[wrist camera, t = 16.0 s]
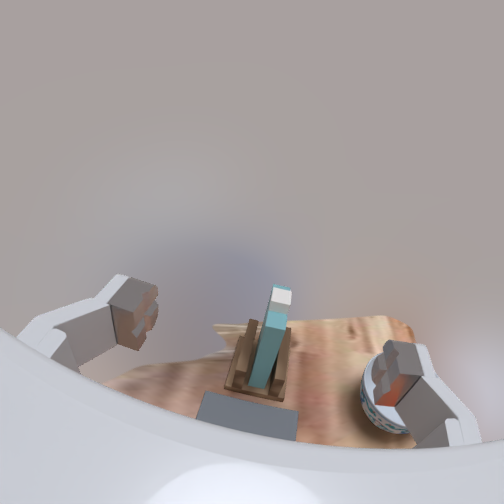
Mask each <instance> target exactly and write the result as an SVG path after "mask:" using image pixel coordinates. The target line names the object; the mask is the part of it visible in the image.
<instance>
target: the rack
mask: <svg viewBox="0 0 504 504" xmlns="http://www.w3.org/2000/svg"><path fill="white" fill-rule="evenodd" d="M257 326H258V321H257V320H253V319H249V323H248V327H247V330H246V334H245V337H242V336H240V337H239V340H238V343H237V347H236V350H235V354H234V357H233V360H232V364H231V367H230V370H229V374H228V377H227V381H226V384H225V388H224V389H227V390H231V391H235V392H239V393H243V394H248V395H252V396H256V397H261V398H266V399H270V400H275V401H280V402H283V400H284V397H285V389H286V381H287V372H288V364H289V355H290V347H289V345H290V336H291V328H288V327H286V331H285V333H284V336H283V339H282V342H281V345H280V348H279V350H278V353H277V356H276V359H275V362H274V364H273V367H272V370H271V372H270V375H269V378H268V380H267V383H266V386H265V388H264V389H261V388H257V387H252V386H248V383H249V379H250V374H251V370H252V365H253V361H254V356H255V352H256V347H257V343H258V340H255V339H254V338H255V334H256V330H257Z"/></svg>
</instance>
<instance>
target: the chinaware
mask: <svg viewBox="0 0 504 504" xmlns="http://www.w3.org/2000/svg"><path fill="white" fill-rule="evenodd" d="M382 353H383V352H382ZM380 354H381V353H380ZM380 354H377V355H376V356H374V357H373V358H372V359H371V360H370V361H369V362H368V364H367V366H366V368H365V370H364V373H363V376H362V380H361V387H360V398H361V403H362V407H363V409H364V412H365V413H366V415H367V417H368V418H369V419H370V421H371V422H372V423H373V424H374V425H376V426H377V427H379V428H380V429H382V430H384V431H387V432H390V433H395V434H407V433H410V432H409V431H408V429H407V427H406V426H405V424H404V423H403V421H402V420H401V418H400V416H399V415H398V413H397V412H396V410H395V407H388V406H379V405H375V404H374V395H373V389H374V388H375V387H376V385H375V384H374V382H373V381H372V378H371V370H372V366H373V362H374V361H375V359H376V357H377V356H378V355H380ZM434 372H435V371H434ZM435 375H436V378H439V377H438V375H437V374H436V373H435Z"/></svg>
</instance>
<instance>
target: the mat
mask: <svg viewBox="0 0 504 504" xmlns="http://www.w3.org/2000/svg"><path fill="white" fill-rule="evenodd" d="M196 419H197V420H200V421H204V422H207V423H211V424H214V425H218V426H222V427H226V428H230V429H234V430H238V431H243V432H247V433H252V434H257V435H262V436H267V437H272V438H278V439H283V440H290V441H296V431H297V421H298V411H293V410H287V409H282V408H277V407H272V406H267V405H262V404H257V403H253V402H248V401H244V400H240V399H236V398H232V397H228V396H224V395H220V394H216V393H213V392H209V391H206V392H205V395H204V397H203V400H202V403H201V406H200V409H199V412H198V415H197V417H196Z"/></svg>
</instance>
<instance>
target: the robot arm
mask: <svg viewBox="0 0 504 504" xmlns="http://www.w3.org/2000/svg"><path fill="white" fill-rule="evenodd" d="M157 296H158V288H157V286H156V285H153V284H150V283H147V282H144V281H141V280H138V279H135V278H132V277H128V276H125V275H122V274H117V275H115V276H114V277H113V278H112V279H111V281H110V282H109V283H108V284H107V285H106V286H105V287H104V288H103V289H102V290H101V291H100V292H99V293H98V294H97V296H96V297H95V298H94V299H93V298H88V299H85V300H82V301H79V302H76V303H73V304H71V305H67V306H64V307H62V308H59V309H56V310H53V311H50V312H47V313H44V314H42V315H39V316H36V317H35V318H34V319H33V320H32V321H31V322H30V323H29V324H28V325H27V326H26V327H25V328H24V329H23V331H22V332H21V333H20V334H19V335H18V336H17V337H14V336H13V335H11V334H9V333H8V332H6V331H5V330H3V329H2V328H0V504H504V439H501V440H495V441H490V442H483V443H482V439H481V436H480V432H479V428H478V424H477V420H476V417H475V416H474V415H473V414H472V413H471V412H470V410H469V409H468V408H467V407H466V406H465V405H464V404H463V403H462V402H461V400H459V398H458V397H457V396H456V395H455V394H454V393H453V392H452V391H451V390H450V389H449V388H448V386H447V385H446V384H445V383H444V382H443V381H442V380H441V379H440V378H436V375H435V372H434V369H433V365H432V362H431V359H430V356H429V353H428V350H427V347H426V346H425V345H424V344H416V343H407V342H401V341H394V340H388V341H387V342H386V343H385V345H384V346H383V351H384V352H383V353H381V354H380V355H378V356H377V357H376V359H375V361H374V362H373V366H372V370H371V378H372V381H373V382H374V384H375V385H376V387H375V388H374V389H373V395H374V404H375V405H379V406H388V407H395V410H396V412H397V413H398V415H399V416H400V418H401V420H402V421H403V423H404V424H405V426H406V427H407V429H408V431H409V432H410V434H411V436H412V437H413V439H414V440H415V442H416V444H417V445H416V446H415V447H414V448H412V449H371V448H352V447H339V446H328V445H319V444H311V443H303V442H296V441H290V440H283V439H278V438H272V437H267V436H262V435H257V434H252V433H247V432H243V431H238V430H234V429H230V428H226V427H222V426H218V425H214V424H211V423H207V422H204V421H200V420H197V419H193V418H190V417H187V416H183V415H180V414H177V413H174V412H171V411H168V410H165V409H162V408H160V407H157V406H154V405H151V404H148V403H146V402H143V401H141V400H138V399H135V398H133V397H130V396H128V395H125V394H123V393H121V392H118V391H116V390H114V389H111V388H109V387H107V386H104V385H102V384H100V383H98V382H96V381H93V380H91V379H89V378H87V377H85V376H83V375H81V373H80V371H79V368H78V367H79V366H81V365H83V364H84V363H86V362H88V361H90V360H92V359H93V358H95V357H97V356H99V355H100V354H102V353H104V352H106V351H107V350H109V349H111V348H113V347H114V346H116V345H117V344H119V345H122V346H125V347H128V348H130V349H133V350H137V351H139V349H140V348H141V346H142V344H143V343H144V341H145V340H146V332H147V331H150V330H152V328H153V326H154V325H155V322H156V319H157V316H158V304H157V302H156V301H155V299H156V297H157Z"/></svg>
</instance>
